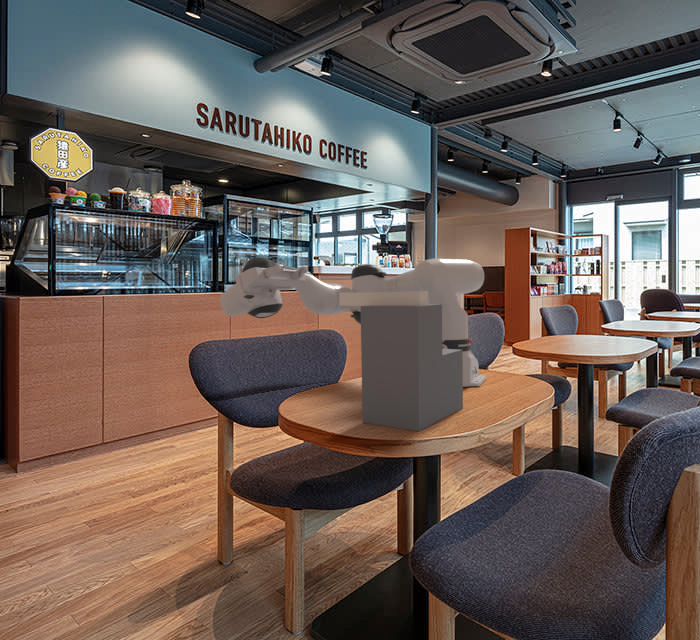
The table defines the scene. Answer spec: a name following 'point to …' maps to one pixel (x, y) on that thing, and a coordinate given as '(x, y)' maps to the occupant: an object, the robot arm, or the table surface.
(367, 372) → the grey l-shaped step block
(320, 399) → the table surface
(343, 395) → the table surface
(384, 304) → the beige rectangular post
